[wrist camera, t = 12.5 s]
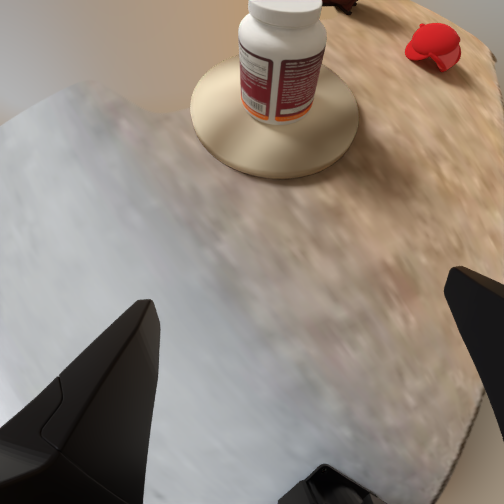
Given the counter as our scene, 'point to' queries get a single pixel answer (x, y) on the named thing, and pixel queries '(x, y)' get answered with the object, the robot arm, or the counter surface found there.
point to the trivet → (273, 126)
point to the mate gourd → (341, 4)
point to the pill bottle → (280, 58)
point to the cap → (435, 45)
